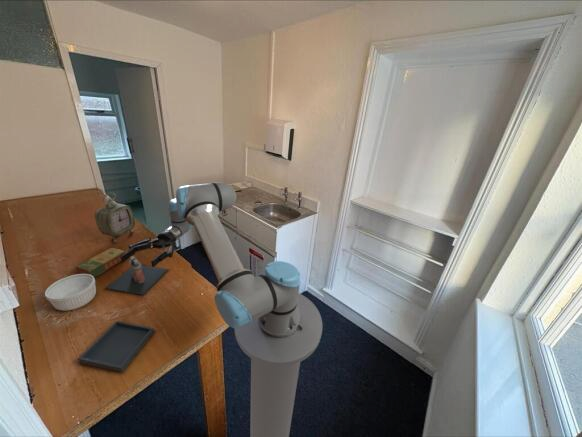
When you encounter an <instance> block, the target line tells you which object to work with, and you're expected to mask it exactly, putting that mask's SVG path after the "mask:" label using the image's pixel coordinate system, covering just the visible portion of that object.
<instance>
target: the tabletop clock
mask: <svg viewBox="0 0 582 437" xmlns="http://www.w3.org/2000/svg"><path fill="white" fill-rule="evenodd" d="M109 195H114V197H113V198H108V200H105V198H106V197H107V196H109ZM116 198H117V195H116V193H114V192H108V193H106V194H104V195H103V197H102V202H104V203H105V205H104V206H102V207H101V208H99V209H96V211H94V219H95V224H96V226H97V229H98V230H99V232H100V234H102V235H105V236H109V237H112V238H113V240H112V242H113V243H115V244H116V243H117V242H118V240H117V239H116V238H117V237H120V236H122V235H124V234H125V233H128V232H129V233H130V234H134V230H133V228H135V221H136V220H135V216H134V212H133V209H132V207H131V205H128V204H122V203H117V202H116V201H114V200H115V199H116Z"/></svg>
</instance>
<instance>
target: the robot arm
mask: <svg viewBox="0 0 582 437" xmlns="http://www.w3.org/2000/svg"><path fill="white" fill-rule="evenodd" d="M236 201H237V192H236V190H235V188H234V187H233V186H232V185H230V184H228V183H226V182H220V181H214V182H208V183H207V182H206V183H198V184H190V185H189V184H187V185H183V186H179V187H178V188H176V191H175V198H172V199H171V200H169V201H168V211H169V215H170V222H171V225H170V226H167V228H165V229H164V230H163V231H161V232H160V233H158V235H157V236H156V238H154V239H152V238H151V237H147V238H145V239H142V240H141V241H139V242H135V243H132V244H130V245H128V246H127V247H128V250H127V251H125V254H123V255H122V256H121V260H122V261H121V262H122V263H125V262H126V261H127V260H129V259H131V256H134V255H135V254H136V253H138V252H142V251H144V250H145V251H146V250H149V249H150V250H152V249H158V250H160V249H162V252H160V253H159V254H158V255H157V256H156V257H154V258H153V259H152V260H151V261H150V263H151V267H157V265H158V264H160V262H163V261H164V260H165V259H167V258H170V259H171V258H173V256H174V251H175V248H176V247H177V244H176V242H177V241H178V240H179V239H180V238H181V237H182V236H184V235H185V234H187V233H188V232H189V231H190V229H191V228H192V227H194V228H195V231H196V233H197V235H198V237H199V240H200V242H201V244H202V246H203V249H204V251H205V253H206V256H207V258H208V261H209V262H210V265H211V267H212V269H213V272H214V273H215V276H216V278H217V280H218V284H217V286H216V293H215V294H214V302H215V305H216V309H217V311H218V313H219V315H220V317H221V318H222V320H223V321H224V322H225V324H226V325H227V326H229V327H230V328H232V329H234V330H235V329H237V328H240V327H242V326H244V325H246V324H250V323H251V322H252V321H254V320H256V319H257V318H258V324H259V327H260V328H261V330H262V331H263V332H264V333H265V334H267V335H269V336H271V337H275V338H284V337H288V336H290V335H292V334H293V333H295V332H296V330H297V329H298V327H299V328H300V329H301V330H302V329H303V328H302V327H301V326H300V325H299V324H300V313H299V309H298V306H297V300H298V293H299V294H300V286H301V272H300V271H299V270H298V268H297V267H296V266H295V265H293V264H292V263H290V262H286V261H282V260H281V261H280V260H275V261H271V262H269V263H268V264H266V266H265V268H264V272H263V273H261V274H259V275H256V276H254V274H253V272H252V270H251V269H248V268H245V266H244V265H243V263H242V261H241V259H240V258H239V255H238V253H237V251H236V250H235V247H234V245H233V244H232V242H231V240H230V237H229V236H228V234H227V232H226V230H225V228H224V225H223V224H222V222H221V220H220V218H219V213H220V212H224V211H227V210H229V209H231V208H232V207H233V206H234V205H235V203H236ZM168 247H169V249H168V251H167V248H168Z"/></svg>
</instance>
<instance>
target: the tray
mask: <svg viewBox="0 0 582 437" xmlns="http://www.w3.org/2000/svg"><path fill="white" fill-rule="evenodd" d="M154 334H155V330H154V327H150V326H147V325H146V326H145V325H141V324H135V323H130V322H125V321H119V320H115V321H114V322H113V323H112V325H111V326H110V327H109V328H108V329H107V330H106V331H104V332H103V334H101V335H100V336H99V337H98V339H97V340H96V341H94V342H93V344H91V345H90V346H89V347H88V348H87V349H86V350H85V351H84V352H83V353H82V354H81V355H80V356H79V357H78V358H77V360H78V362H79V364H82V365H86V366H91V367H95V368H101V369H103V370H104V369H105V370H110V371H114V372H119V373H124V371H125V370H126V369H127V368H128V366H129V365H130V363H132V361H133V360H134V358H136V356H137V355H138V354H139V352H140V351H141V350H142V349H143V347H144V346H145V344H146V343H147V342H148V341H149V340H150V338H151V337H152V336H153V335H154Z"/></svg>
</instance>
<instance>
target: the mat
mask: <svg viewBox="0 0 582 437" xmlns="http://www.w3.org/2000/svg"><path fill="white" fill-rule="evenodd" d="M141 267H142V268H141V269H142V273H143V276H144V279H145V281H144V282H143V283H140V284H139V283H137V282H136V281H135V280H134V278H133V273H132V271H131V267H130V268H128V270H125V272H124V273H122V274H121V275H120V276H118V278H116V279H114V280H113V281H112V282H111V283H110V284H108V285H107V286H105V290H110V291H115V292H120V293H124V294H125V293H126V294H132V295H137V296H144V295H145V294H146V293H147V292H148V291H149V290H150V289H151V288H153V287H154V285H156V283H158V281H160V279H161V278H162V277H164V276H165V275H166V274H167V272H169V269H167V268H163V267H162V268H161V267H157V266H155V267H152V266H149V265H143V264H141Z"/></svg>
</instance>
